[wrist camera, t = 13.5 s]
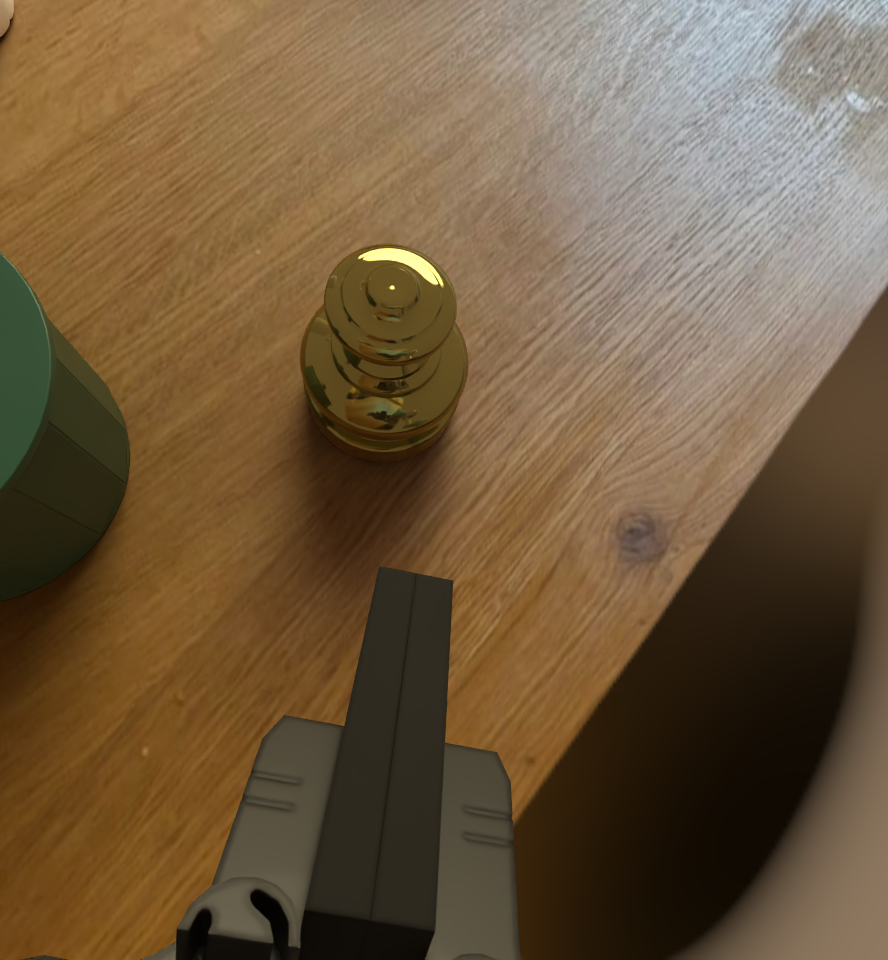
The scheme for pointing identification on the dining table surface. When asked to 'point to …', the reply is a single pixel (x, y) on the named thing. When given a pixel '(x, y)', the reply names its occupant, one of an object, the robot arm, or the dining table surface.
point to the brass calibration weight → (384, 354)
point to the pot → (65, 480)
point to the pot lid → (22, 374)
